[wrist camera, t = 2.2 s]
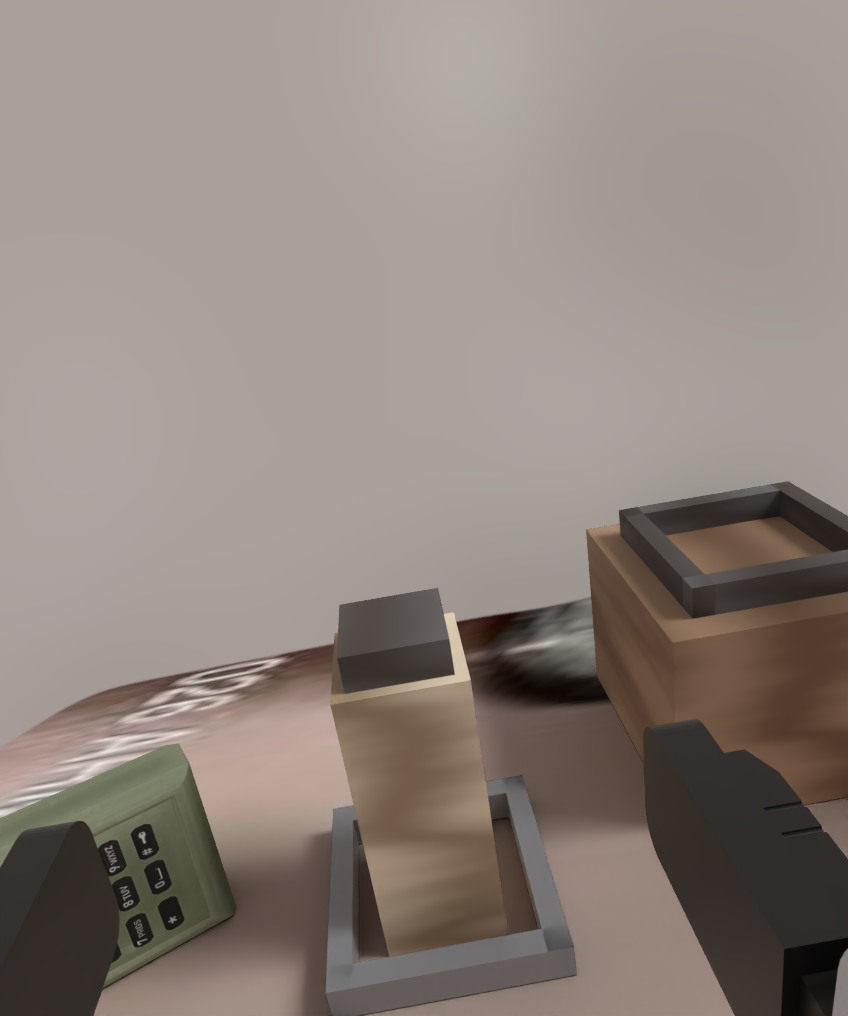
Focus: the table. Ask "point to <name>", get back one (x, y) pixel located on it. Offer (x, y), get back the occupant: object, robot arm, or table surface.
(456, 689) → the beech plug
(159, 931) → the handheld radio
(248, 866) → the table surface
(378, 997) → the low socket
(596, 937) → the table surface
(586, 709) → the table surface
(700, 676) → the walnut dock
